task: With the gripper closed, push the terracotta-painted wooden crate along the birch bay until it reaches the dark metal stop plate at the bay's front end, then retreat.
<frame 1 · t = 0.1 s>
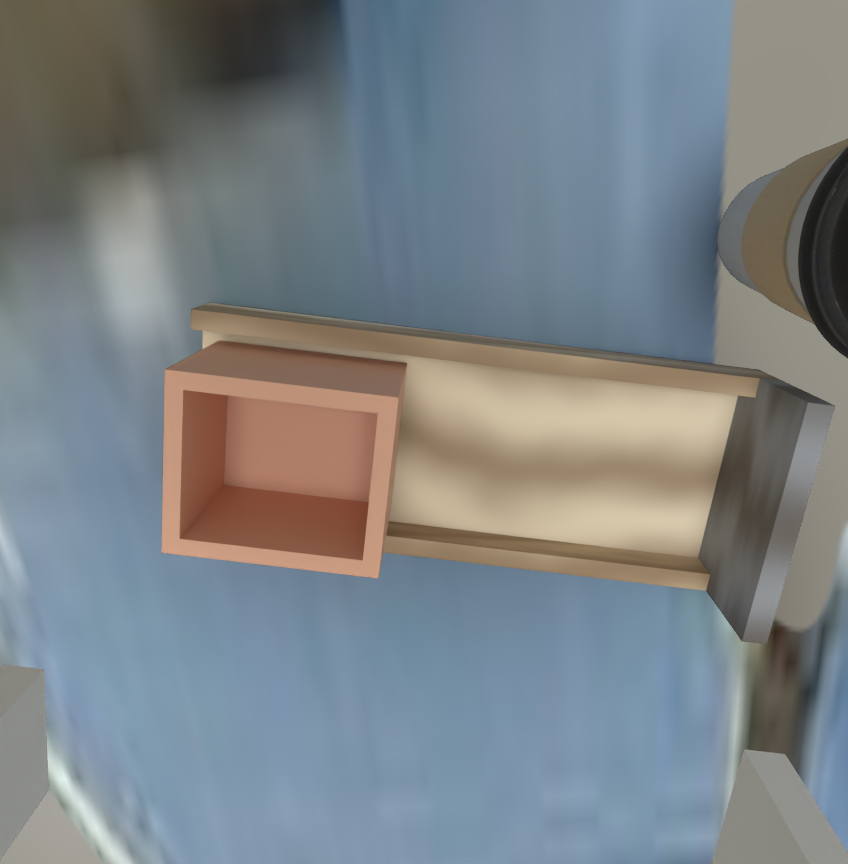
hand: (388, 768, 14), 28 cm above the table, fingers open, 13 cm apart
crate: (293, 451, 36), point 5 cm above the table, slide at 0.0 cm
bay: (470, 441, 41), on the table
coffee cup: (771, 234, 38), on the table
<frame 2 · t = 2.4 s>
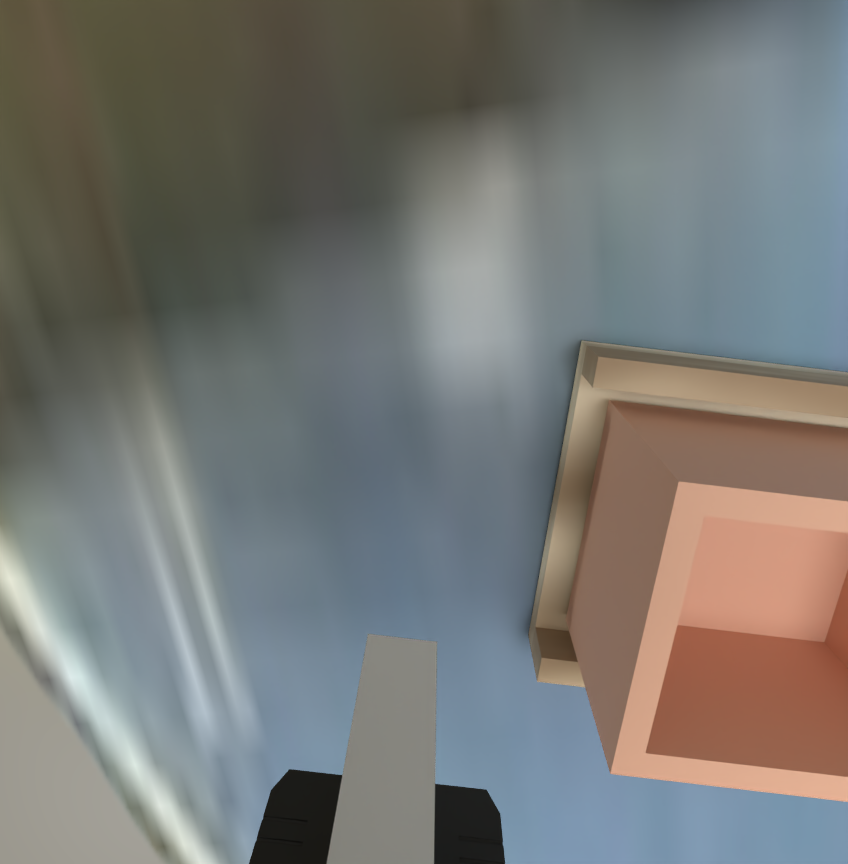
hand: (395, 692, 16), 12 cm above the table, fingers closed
crate: (770, 585, 22), point 5 cm above the table, slide at 0.0 cm
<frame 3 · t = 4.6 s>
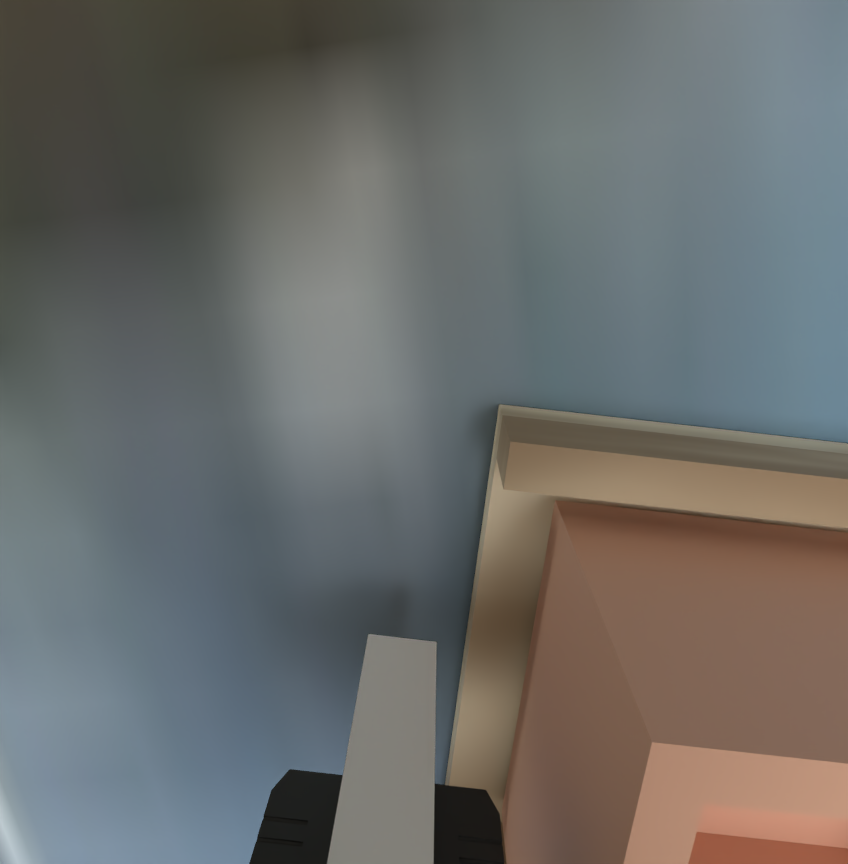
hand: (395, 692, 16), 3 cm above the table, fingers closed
crate: (813, 818, 14), point 5 cm above the table, slide at 0.4 cm, touching gripper
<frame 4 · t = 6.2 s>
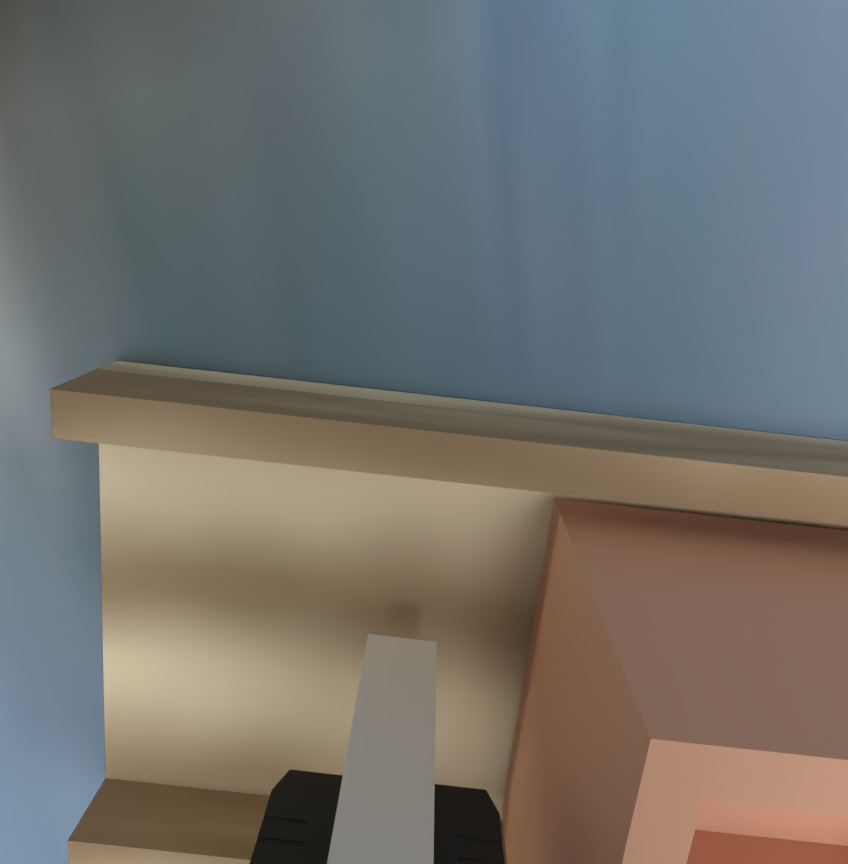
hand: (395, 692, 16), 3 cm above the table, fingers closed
crate: (813, 816, 14), point 5 cm above the table, slide at 9.4 cm, touching gripper
bay: (699, 652, 19), on the table
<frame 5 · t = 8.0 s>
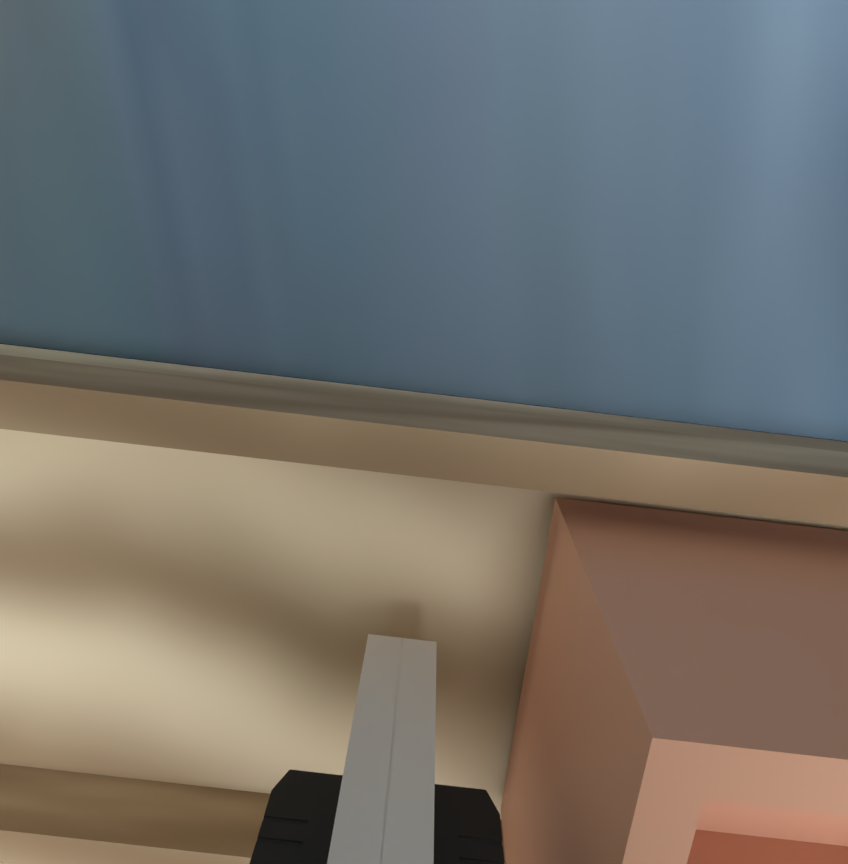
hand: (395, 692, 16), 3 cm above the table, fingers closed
crate: (812, 816, 14), point 5 cm above the table, slide at 17.1 cm, touching gripper
bay: (400, 618, 19), on the table
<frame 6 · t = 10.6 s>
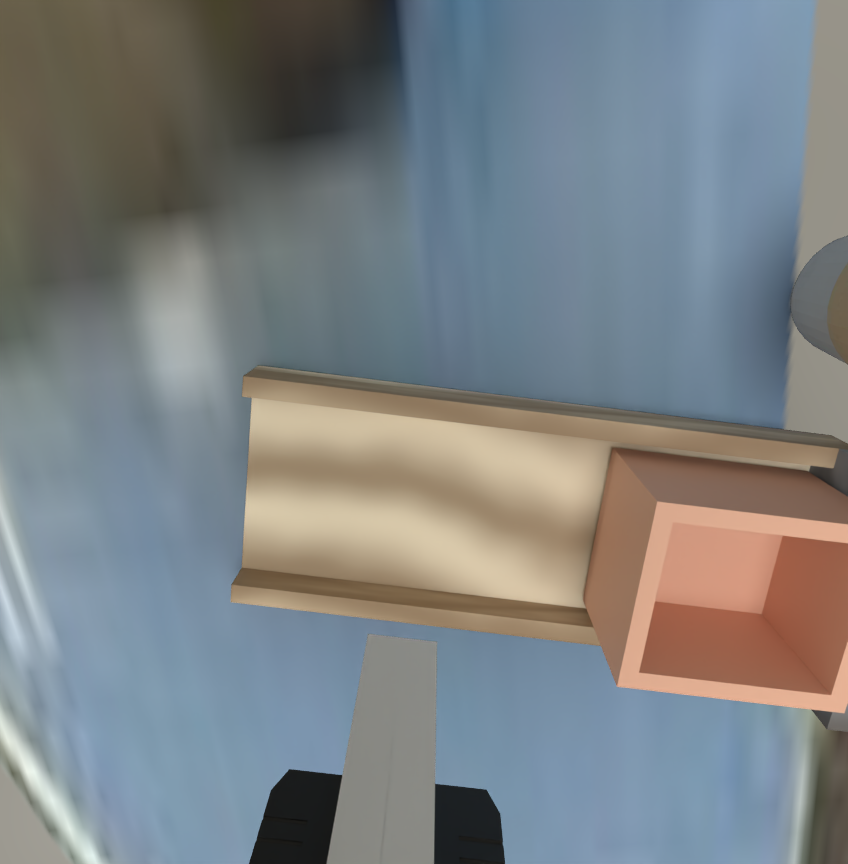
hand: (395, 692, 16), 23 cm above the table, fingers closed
crate: (719, 570, 34), point 5 cm above the table, slide at 17.5 cm
bay: (527, 508, 39), on the table
coffee cup: (846, 297, 36), on the table
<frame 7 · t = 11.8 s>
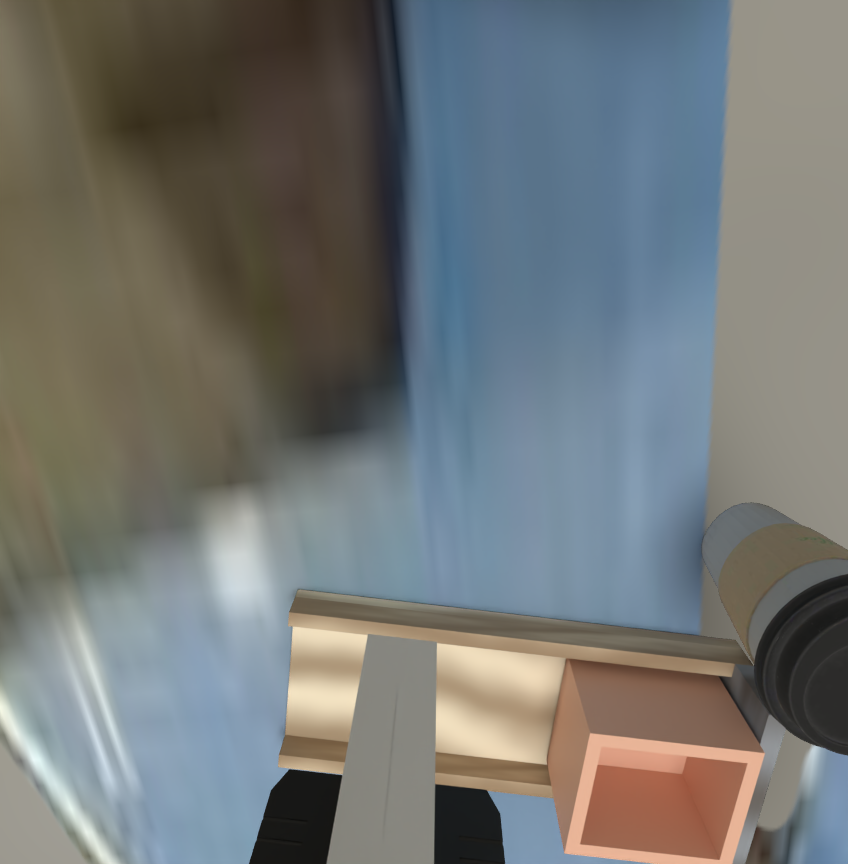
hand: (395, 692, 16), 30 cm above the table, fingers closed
crate: (644, 757, 46), point 5 cm above the table, slide at 17.5 cm
bay: (504, 690, 51), on the table
coffee cup: (744, 543, 48), on the table
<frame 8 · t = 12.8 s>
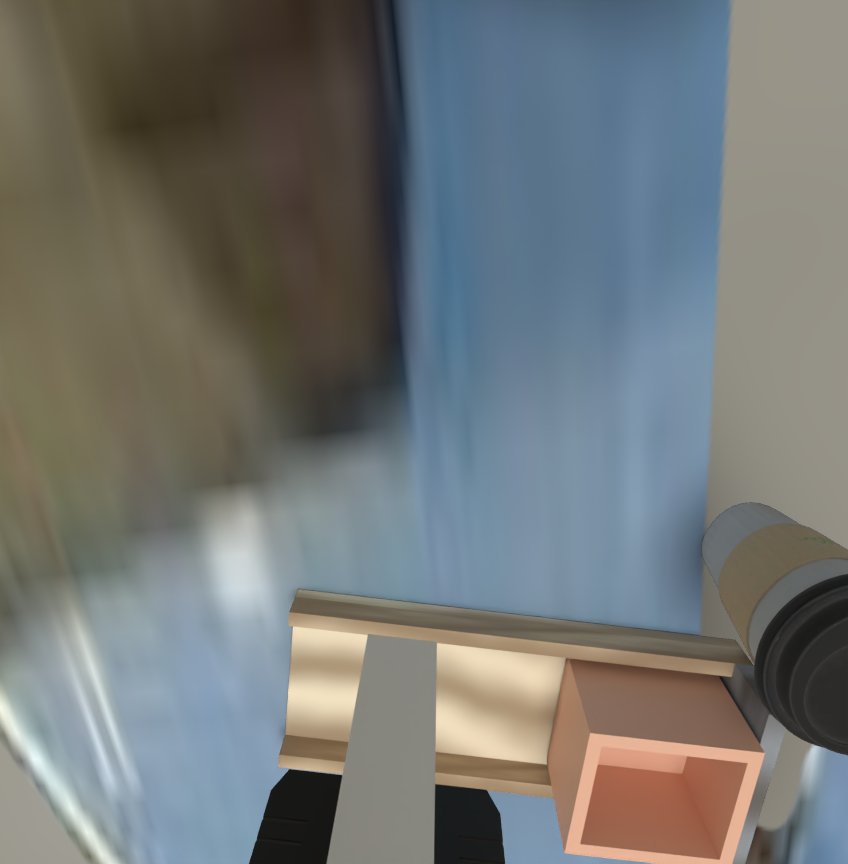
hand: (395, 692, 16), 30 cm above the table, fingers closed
crate: (644, 757, 46), point 5 cm above the table, slide at 17.5 cm
bay: (504, 689, 51), on the table
coffee cup: (744, 543, 48), on the table
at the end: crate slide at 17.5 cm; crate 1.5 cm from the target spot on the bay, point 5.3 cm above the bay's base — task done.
